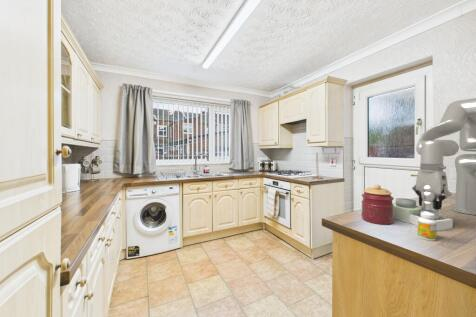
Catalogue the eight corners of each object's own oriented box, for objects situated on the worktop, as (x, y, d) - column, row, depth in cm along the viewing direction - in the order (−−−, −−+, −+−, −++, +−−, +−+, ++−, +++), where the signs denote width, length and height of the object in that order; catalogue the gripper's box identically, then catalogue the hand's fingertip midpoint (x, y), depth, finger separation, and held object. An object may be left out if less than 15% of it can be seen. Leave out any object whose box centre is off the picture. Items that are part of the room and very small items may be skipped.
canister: (375, 226, 94) (376, 187, 93) (355, 216, 107) (355, 182, 106) (400, 224, 96) (401, 186, 95) (377, 215, 109) (378, 181, 108)
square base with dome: (402, 213, 112) (402, 196, 112) (453, 228, 91) (454, 208, 91) (384, 215, 109) (385, 198, 109) (433, 231, 88) (434, 210, 88)
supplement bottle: (413, 235, 84) (414, 211, 84) (426, 234, 85) (427, 211, 84) (427, 241, 79) (428, 216, 78) (440, 240, 79) (441, 215, 79)
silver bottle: (443, 224, 91) (445, 178, 90) (425, 223, 92) (426, 178, 91) (432, 219, 97) (434, 176, 96) (415, 218, 99) (417, 176, 98)
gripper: (461, 169, 86) (459, 212, 87) (416, 165, 103) (415, 202, 104) (448, 170, 84) (446, 213, 85) (405, 166, 101) (404, 203, 102)
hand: (429, 207), depth 94 cm, fingers closed on silver bottle, 5 cm apart
